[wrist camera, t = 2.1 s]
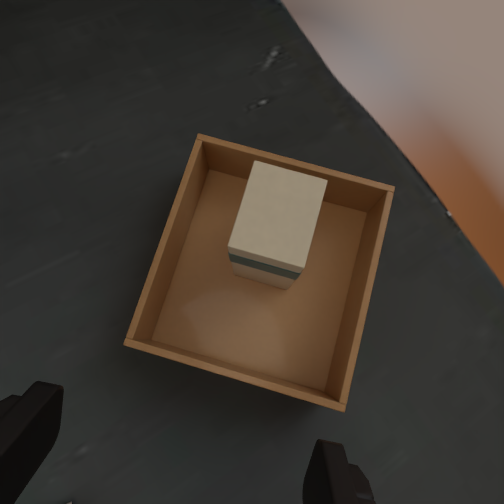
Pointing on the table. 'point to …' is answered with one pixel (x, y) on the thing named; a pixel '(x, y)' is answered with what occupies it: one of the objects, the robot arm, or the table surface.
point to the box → (259, 294)
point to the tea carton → (275, 224)
